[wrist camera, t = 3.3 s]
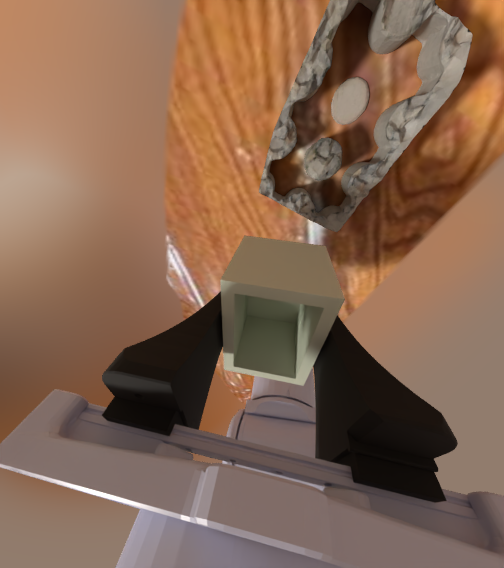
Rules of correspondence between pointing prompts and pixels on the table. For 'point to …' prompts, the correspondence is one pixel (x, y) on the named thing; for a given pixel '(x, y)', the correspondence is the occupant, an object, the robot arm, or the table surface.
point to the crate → (277, 308)
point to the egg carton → (355, 94)
